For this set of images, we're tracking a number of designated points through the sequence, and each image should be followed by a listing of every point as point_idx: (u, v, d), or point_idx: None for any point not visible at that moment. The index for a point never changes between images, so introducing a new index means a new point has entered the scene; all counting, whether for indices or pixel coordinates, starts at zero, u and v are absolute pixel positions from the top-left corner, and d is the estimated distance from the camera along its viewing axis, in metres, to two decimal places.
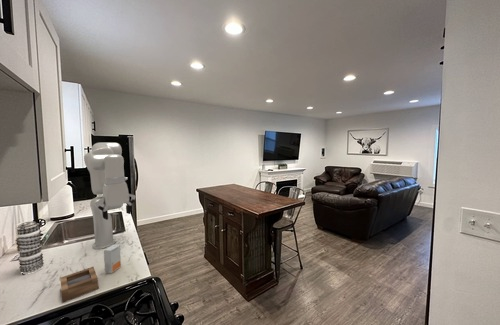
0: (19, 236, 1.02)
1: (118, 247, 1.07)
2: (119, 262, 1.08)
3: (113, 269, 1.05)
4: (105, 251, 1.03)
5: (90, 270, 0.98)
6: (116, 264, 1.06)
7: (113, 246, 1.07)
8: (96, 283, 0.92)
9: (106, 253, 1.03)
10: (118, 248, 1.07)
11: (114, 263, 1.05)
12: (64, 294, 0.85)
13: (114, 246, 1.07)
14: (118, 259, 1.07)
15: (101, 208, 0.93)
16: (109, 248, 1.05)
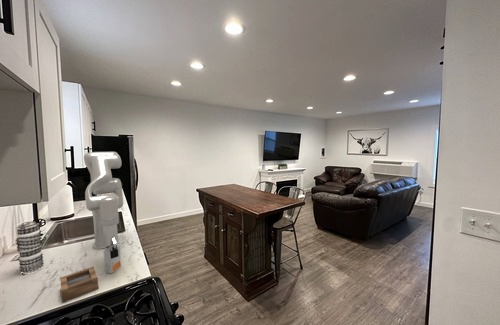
0: (19, 236, 1.02)
1: (118, 247, 1.07)
2: (119, 262, 1.08)
3: (113, 269, 1.05)
4: (105, 251, 1.03)
5: (90, 270, 0.98)
6: (116, 264, 1.06)
7: None
8: (96, 283, 0.92)
9: (106, 253, 1.03)
10: (118, 248, 1.07)
11: (114, 263, 1.05)
12: (64, 294, 0.85)
13: None
14: (118, 259, 1.07)
15: None
16: (109, 248, 1.05)
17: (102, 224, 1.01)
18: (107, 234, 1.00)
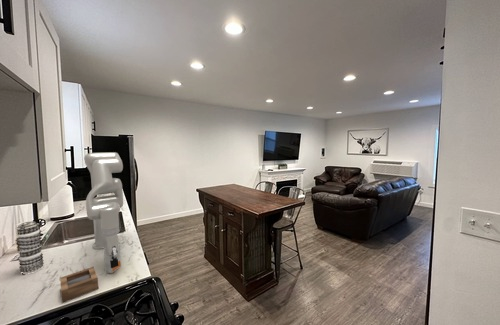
0: (19, 236, 1.02)
1: None
2: (119, 262, 1.08)
3: (113, 269, 1.05)
4: (105, 251, 1.03)
5: (90, 270, 0.98)
6: None
7: None
8: (96, 283, 0.92)
9: None
10: None
11: None
12: (64, 294, 0.85)
13: None
14: (118, 259, 1.07)
15: None
16: None
17: (103, 234, 1.02)
18: (108, 244, 1.01)
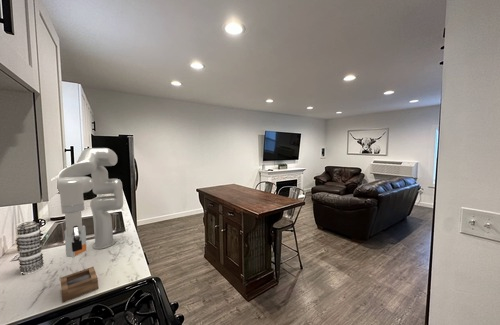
0: (19, 236, 1.02)
1: (83, 228, 0.92)
2: (84, 245, 0.93)
3: (76, 253, 0.89)
4: (66, 232, 0.88)
5: (90, 270, 0.98)
6: None
7: None
8: (96, 283, 0.92)
9: None
10: (83, 229, 0.92)
11: None
12: (64, 294, 0.85)
13: None
14: (83, 242, 0.92)
15: None
16: None
17: (62, 211, 0.86)
18: (68, 222, 0.85)
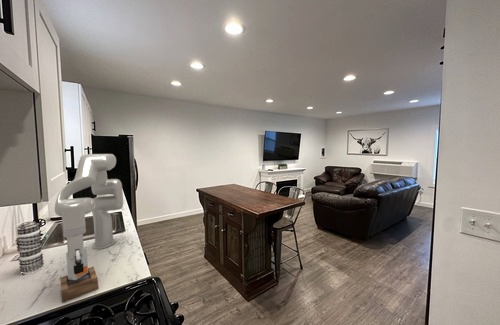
0: (19, 236, 1.02)
1: (84, 250, 0.93)
2: (86, 267, 0.94)
3: (78, 275, 0.90)
4: None
5: (90, 270, 0.98)
6: None
7: None
8: (96, 283, 0.92)
9: None
10: (84, 251, 0.93)
11: None
12: (64, 294, 0.85)
13: None
14: (84, 264, 0.93)
15: None
16: None
17: (64, 234, 0.87)
18: (70, 246, 0.86)
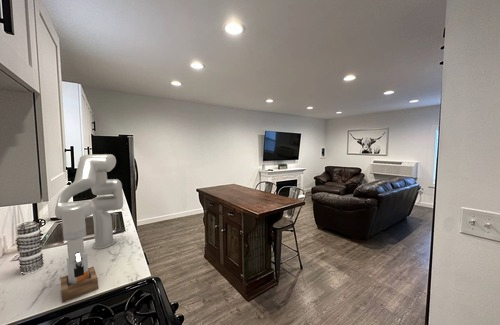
0: (19, 236, 1.02)
1: (85, 255, 0.93)
2: (86, 273, 0.94)
3: (78, 281, 0.91)
4: (68, 260, 0.89)
5: (90, 270, 0.98)
6: (83, 275, 0.92)
7: None
8: (96, 283, 0.92)
9: (69, 263, 0.89)
10: (85, 257, 0.93)
11: None
12: (64, 294, 0.85)
13: None
14: (85, 269, 0.93)
15: None
16: None
17: (65, 237, 0.87)
18: (70, 249, 0.86)
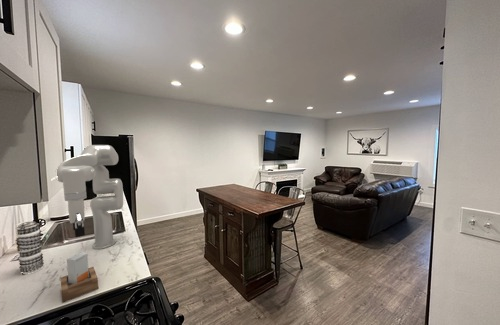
0: (19, 236, 1.02)
1: (85, 256, 0.93)
2: (86, 273, 0.94)
3: (78, 281, 0.91)
4: (68, 260, 0.89)
5: (90, 270, 0.98)
6: (83, 276, 0.92)
7: (79, 254, 0.93)
8: (96, 283, 0.92)
9: (69, 263, 0.89)
10: (85, 257, 0.93)
11: (79, 274, 0.91)
12: (64, 294, 0.85)
13: (80, 254, 0.93)
14: (85, 269, 0.93)
15: None
16: (74, 257, 0.91)
17: (65, 198, 0.89)
18: (71, 209, 0.88)
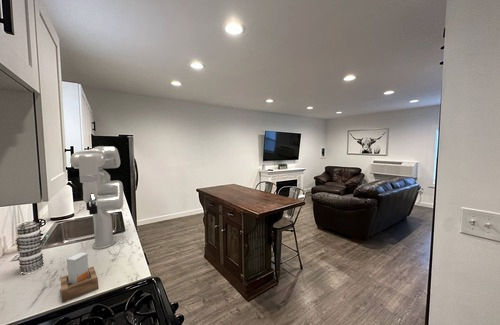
0: (19, 236, 1.02)
1: (85, 256, 0.93)
2: (86, 273, 0.94)
3: (78, 281, 0.91)
4: (68, 260, 0.89)
5: (90, 270, 0.98)
6: (83, 276, 0.92)
7: (79, 254, 0.93)
8: (96, 283, 0.92)
9: (70, 263, 0.89)
10: (85, 257, 0.93)
11: (79, 274, 0.91)
12: (64, 294, 0.85)
13: (80, 254, 0.93)
14: (85, 269, 0.93)
15: None
16: (74, 257, 0.91)
17: (81, 180, 1.01)
18: (86, 190, 1.00)
